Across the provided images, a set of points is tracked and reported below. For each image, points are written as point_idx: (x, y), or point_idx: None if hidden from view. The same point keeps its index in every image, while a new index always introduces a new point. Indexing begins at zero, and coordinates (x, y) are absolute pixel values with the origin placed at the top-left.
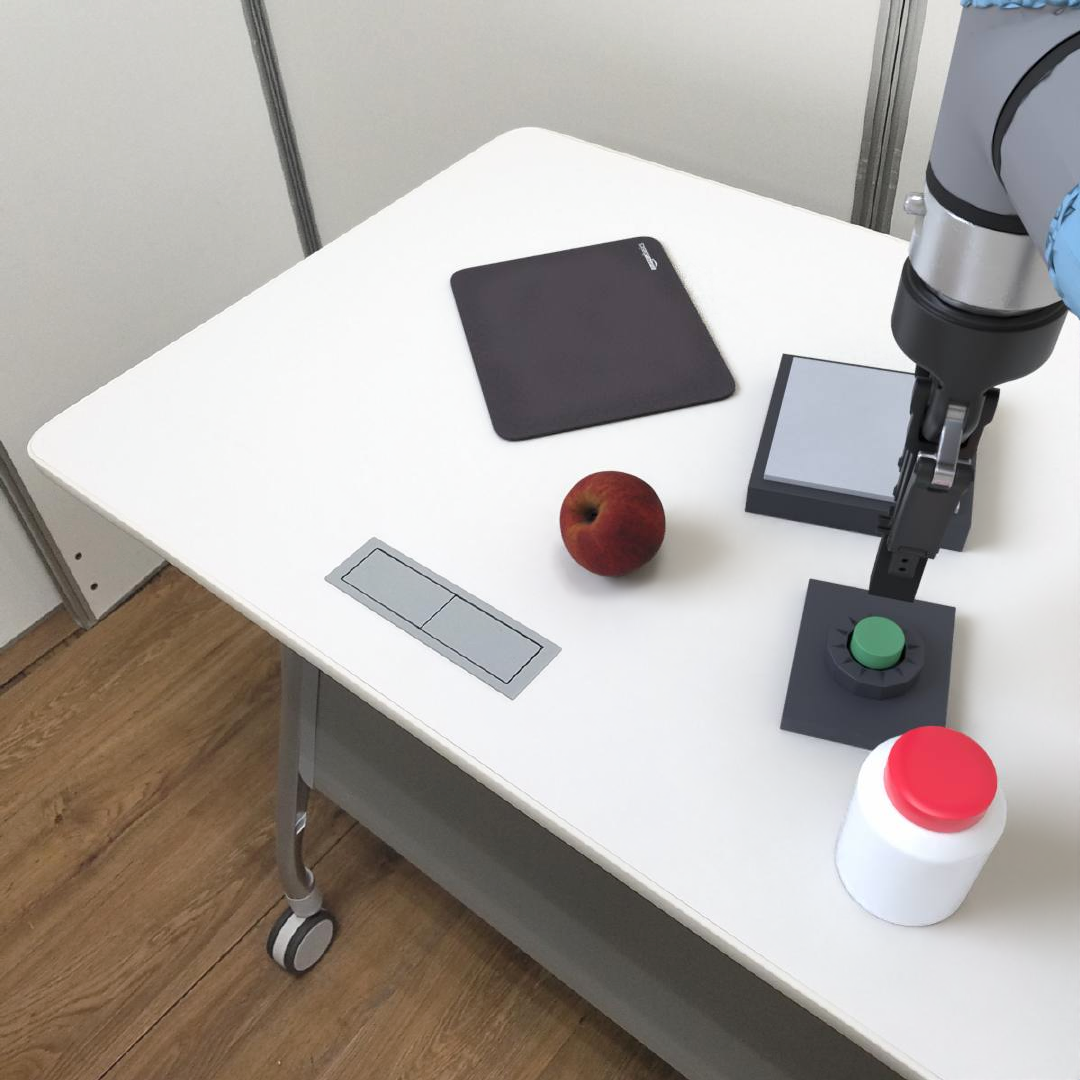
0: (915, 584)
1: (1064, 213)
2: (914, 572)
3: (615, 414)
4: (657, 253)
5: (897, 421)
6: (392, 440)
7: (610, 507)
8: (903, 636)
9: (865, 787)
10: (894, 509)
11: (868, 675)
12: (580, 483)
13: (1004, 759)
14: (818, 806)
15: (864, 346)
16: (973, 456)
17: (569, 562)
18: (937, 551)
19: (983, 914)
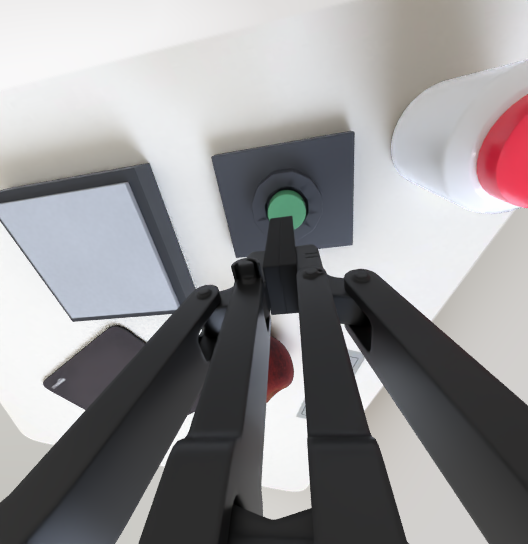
0: (293, 228)
1: None
2: (317, 250)
3: None
4: (52, 380)
5: (74, 247)
6: None
7: (273, 389)
8: (280, 196)
9: (517, 207)
10: (275, 310)
11: (314, 207)
12: None
13: (329, 77)
14: (402, 202)
15: (19, 271)
16: (381, 454)
17: None
18: (388, 285)
19: (479, 58)
